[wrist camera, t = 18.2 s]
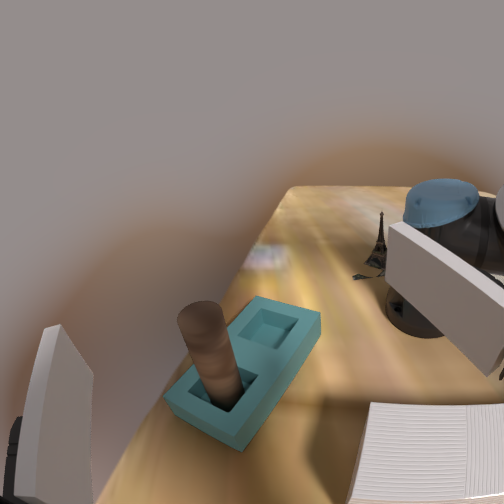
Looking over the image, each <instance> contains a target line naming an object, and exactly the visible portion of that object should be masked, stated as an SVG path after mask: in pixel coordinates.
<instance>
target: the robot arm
mask: <svg viewBox="0 0 504 504" xmlns="http://www.w3.org/2000/svg"><path fill="white" fill-rule="evenodd" d="M491 274H495V275H501V276H504V185H503V186H502V187H501V188H500V190H499V191H498V194H497V196H496V198H490V197H482V196H479V193H478V190H477V188H476V187H475V186H473V185H472V184H470V183H468V182H462V181H460V180H456V179H434V180H429V181H425V182H422V183H419V184H417V185H416V186H414V187H413V188H412V189H411V190H410V191H409V192H408V194H407V197H406V204H405V212H404V215H403V221H401V222H398V223H395V224H392V225H389V230H388V247H387V261H386V273H385V281H386V282H387V283H388V284H389V285H390V288H389V290H388V293H387V298H386V313H387V316H388V318H389V319H390V321H391V322H392V323H393V324H394V325H395V326H396V327H397V328H398V329H400V330H401V331H403V332H405V333H407V334H409V335H412V336H415V337H420V338H438V337H442V336H446V337H447V338H448V339H449V340H450V341H451V342H452V343H453V344H454V345H455V346H456V347H457V348H458V349H459V350H460V351H461V352H462V353H463V354H464V355H465V356H466V357H467V358H468V359H469V360H470V361H471V362H472V363H473V364H474V365H475V366H476V367H477V368H478V369H479V370H480V371H481V372H482V373H483V374H484V375H485V376H486V377H488V376H489V375H490V374H491V373H492V372H493V371H494V370H496V369H497V368H498V367H499V365H500V364H501V362H502V360H503V358H504V285H503V283H502V282H500V281H499V280H498V279H495V277H493V276H492V275H491ZM503 377H504V368H503V370H502V372H501V374H500V376H499V380H502V379H503ZM92 387H93V372H92V371H91V370H90V368H89V367H88V366H87V364H86V362H85V361H84V360H83V358H82V357H81V355H80V354H79V352H78V351H77V349H76V348H75V346H74V345H73V343H72V342H71V340H70V338H69V337H68V335H67V334H66V332H65V330H64V329H63V327H62V326H61V324H59V325H56V326H52V327H49V328H45V329H44V332H43V335H42V339H41V342H40V345H39V349H38V353H37V356H36V360H35V364H34V368H33V372H32V376H31V380H30V384H29V389H28V393H27V398H26V403H25V408H24V414H23V416H21V417H17V418H16V420H15V422H14V424H13V426H12V428H11V431H10V437H9V446H8V450H7V455H8V457H6V466H5V475H4V486H3V497H2V496H0V504H93V493H92V475H91V405H92Z"/></svg>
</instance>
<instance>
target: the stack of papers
mask: <svg viewBox="0 0 504 504" xmlns="http://www.w3.org/2000/svg"><path fill="white" fill-rule="evenodd" d="M345 504H504V403H503V404H485V405H409V404H391V403H377V402H371V403H370V407H369V411H368V415H367V418H366V422H365V426H364V429H363V433H362V436H361V440H360V444H359V448H358V453H357V458H356V462H355V466H354V471H353V475H352V479H351V483H350V487H349V491H348V494H347V498H346V502H345Z"/></svg>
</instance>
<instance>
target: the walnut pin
mask: <svg viewBox="0 0 504 504" xmlns="http://www.w3.org/2000/svg"><path fill="white" fill-rule="evenodd" d="M177 322H178V325H179V328H180V330H181V333H182V336H183V338H184V341H185V343H186V346H187V348H188V350H189V353H190V355H191V358H192V360H193V362H194V365H195V367H196V369H197V372H198V374H199V376H200V379H201V381H202V383H203V386H204V388H205V390H206V392H207V394H208V397H209V399H210V401H211V403H212V405H213V406H215V407H217V408H219V409H221V410H223V411H225V412H230V411H231V410H232V409H233V408H234V406H235V405H236V404H237V403H238V401H239V400H240V399H241V397H242V396H243V395H244V394H245V390H244V387H243V383H242V380H241V377H240V373H239V370H238V366H237V363H236V359H235V356H234V352H233V349H232V345H231V341H230V338H229V334H228V330H227V327H226V323H225V319H224V316H223V312H222V309H221V307H220V306H219V305H218V304H217V303H215V302H211V301H199V302H195V303H192V304H190V305H188V306H186V307H185V308H184V309H183V310H182V311H181V312H180V313H179V315H178V317H177Z"/></svg>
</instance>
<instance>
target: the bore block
mask: <svg viewBox="0 0 504 504" xmlns="http://www.w3.org/2000/svg"><path fill="white" fill-rule="evenodd" d="M227 330H228V334H229V338H230V341H231V345H232V349H233V352H234V356H235V359H236V363H237V366H238V370H239V373H240V377H241V380H242V383H243V387H244V390H245V394H244V395H243V396H242V397H241V399H240V400H239V401H238V403H237V404H236V405H235V406H234V408H233V409H232V410H231V411H230V412H225V411H223V410H221V409H219V408H217V407H215V406H213V405H212V403H211V401H210V399H209V397H208V394H207V392H206V390H205V388H204V386H203V383H202V381H201V379H200V376H199V374H198V372H197V369H196V367H195V365H194V364H193V365H192V366H191V367H190V368H189V369H188V370H187V371H186V372H185V373H184V374H183V376H182V377H181V378H180V379H179V380H178V381H177V382H176V383H175V384H174V385H173V386H172V387H171V388H170V389H169V390H168V391H167V392H166V393H165V394H164V395H163V397H164V399H165V401H166V402H167V404H168V405H169V407H170V408H171V410H172V411H173V413H174V414H175V415H176V416H178V417H179V418H181V419H183V420H184V421H186V422H188V423H189V424H191V425H193V426H194V427H196V428H198V429H199V430H201V431H203V432H205V433H206V434H208V435H210V436H212V437H213V438H215V439H217V440H219V441H221V442H223V443H224V444H226V445H228V446H230V447H232V448H234V449H236V450H238V451H240V452H242V451H243V450H244V449H245V448H246V446H247V445H248V443H249V442H250V441H251V439H252V438H253V437H254V435H255V434H256V433H257V431H258V430H259V428H260V427H261V426H262V424H263V423H264V421H265V420H266V419H267V417H268V416H269V414H270V413H271V411H272V410H273V408H274V407H275V406H276V404H277V403H278V401H279V400H280V398H281V397H282V395H283V394H284V392H285V391H286V389H287V388H288V386H289V385H290V383H291V382H292V380H293V379H294V377H295V375H296V374H297V372H298V371H299V369H300V368H301V366H302V364H303V363H304V361H305V360H306V358H307V356H308V355H309V353H310V352H311V350H312V348H313V347H314V345H315V343H316V342H317V340H318V338H319V337H320V335H321V317H320V312H316V311H312V310H309V309H305V308H301V307H297V306H293V305H289V304H285V303H282V302H278V301H274V300H270V299H267V298H263V297H259V296H255V298H254V299H253V300H252V301H251V302H250V303H249V304H248V305H247V306H246V308H245V309H244V310H243V311H242V312H241V313H240V314H239V315H238V316H237V317H236V319H235V320H234V321H233V322H232V323H231V324H230V325H229V326H228V327H227Z"/></svg>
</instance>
